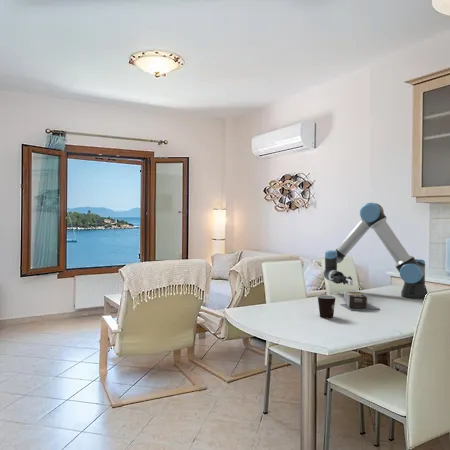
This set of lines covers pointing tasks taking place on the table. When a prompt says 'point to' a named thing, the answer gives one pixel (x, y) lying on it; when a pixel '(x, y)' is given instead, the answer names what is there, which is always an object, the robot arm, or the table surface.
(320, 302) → the coffee mug
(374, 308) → the mat
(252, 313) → the table surface
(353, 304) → the coffee box
